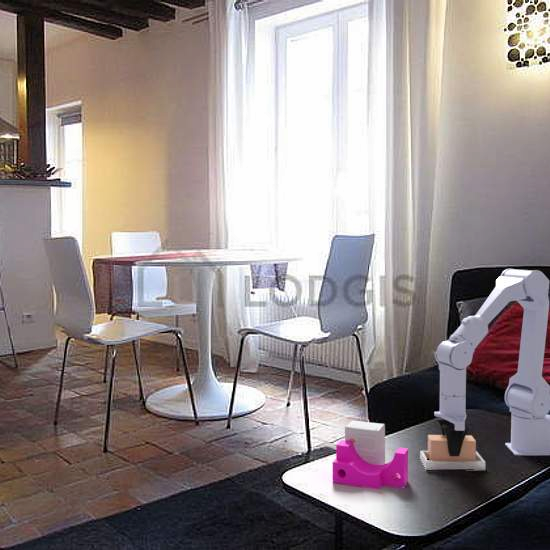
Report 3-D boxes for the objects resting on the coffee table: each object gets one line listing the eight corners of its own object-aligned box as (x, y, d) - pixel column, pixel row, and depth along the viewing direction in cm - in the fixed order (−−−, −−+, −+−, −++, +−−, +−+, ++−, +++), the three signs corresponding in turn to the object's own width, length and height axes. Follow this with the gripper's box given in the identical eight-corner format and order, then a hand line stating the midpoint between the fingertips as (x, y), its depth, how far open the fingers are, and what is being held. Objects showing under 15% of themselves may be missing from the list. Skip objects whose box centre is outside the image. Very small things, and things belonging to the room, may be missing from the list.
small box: (385, 469, 146) (385, 423, 146) (379, 477, 141) (379, 430, 141) (351, 464, 150) (351, 419, 149) (344, 472, 144) (344, 426, 144)
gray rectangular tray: (476, 461, 151) (476, 451, 151) (485, 473, 144) (485, 462, 144) (419, 461, 151) (419, 450, 151) (425, 472, 144) (425, 461, 144)
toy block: (332, 482, 139) (332, 448, 139) (341, 472, 145) (341, 439, 144) (401, 493, 133) (401, 457, 133) (407, 482, 139) (408, 448, 138)
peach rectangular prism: (427, 455, 150) (427, 434, 149) (471, 456, 149) (471, 435, 149) (430, 462, 146) (430, 440, 145) (475, 462, 145) (475, 441, 145)
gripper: (428, 386, 154) (428, 441, 155) (441, 402, 139) (441, 463, 140) (458, 386, 154) (457, 442, 154) (474, 402, 139) (473, 463, 140)
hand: (451, 452), depth 147 cm, fingers closed on peach rectangular prism, 4 cm apart
